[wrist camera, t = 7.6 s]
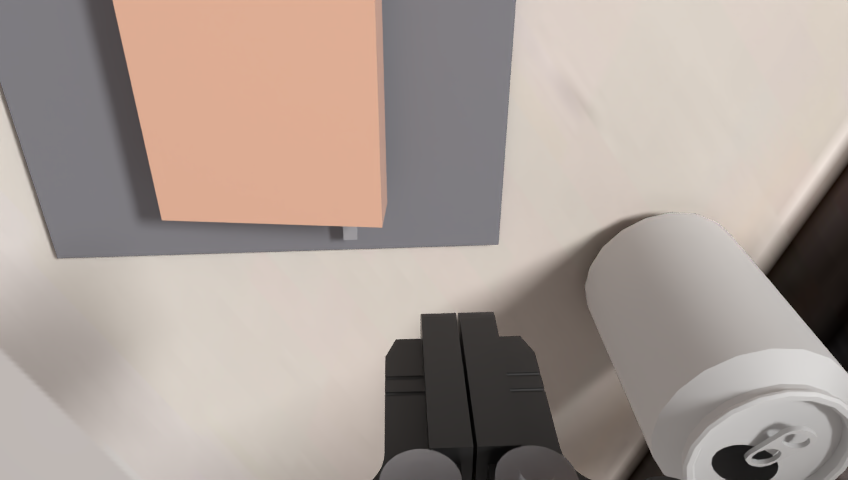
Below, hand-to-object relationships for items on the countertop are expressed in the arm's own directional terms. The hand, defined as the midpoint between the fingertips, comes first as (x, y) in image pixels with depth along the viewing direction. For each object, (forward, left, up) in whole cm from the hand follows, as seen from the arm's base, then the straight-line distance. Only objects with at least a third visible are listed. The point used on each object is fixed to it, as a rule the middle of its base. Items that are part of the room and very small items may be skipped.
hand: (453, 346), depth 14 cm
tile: (+1, 0, -14) cm, 14 cm away
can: (-12, +10, -17) cm, 23 cm away
